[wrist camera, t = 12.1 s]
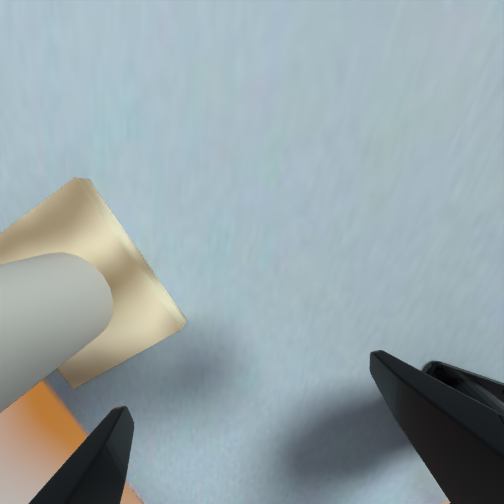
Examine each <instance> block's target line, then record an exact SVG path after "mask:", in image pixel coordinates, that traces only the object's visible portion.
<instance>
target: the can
mask: <svg viewBox="0 0 504 504" xmlns="http://www.w3.org/2000/svg"><path fill="white" fill-rule="evenodd" d="M112 314H113V298H112V294H111V290H110V287H109V285H108V283H107V282H106V280H105V278H104V276H103V275H102V274H101V273H100V272H99V271H98V270H97V269H96V268H95V267H94V266H93V265H92V264H91V263H90V262H88V261H86V260H85V259H83V258H81V257H79V256H77V255H73V254H69V253H64V252H57V253H47V254H43V255H39V256H35V257H31V258H26V259H22V260H18V261H14V262H10V263H5V264H1V265H0V413H1V412H2V411H3V410H4V409H6V408H7V407H8V406H10V405H11V404H12V403H13V402H15V401H16V400H17V399H18V398H20V397H21V396H22V395H23V394H25V393H26V392H27V391H28V390H30V389H31V388H33V387H34V386H35V385H36V384H38V383H39V382H40V381H41V380H43V379H44V378H45V377H47V376H48V375H49V374H50V373H52V372H53V371H54V370H55V369H57V368H58V367H59V366H61V365H62V364H63V363H64V362H66V361H67V360H68V359H69V358H71V357H72V356H73V355H75V354H76V353H77V352H78V351H80V350H81V349H82V348H83V347H85V346H86V345H87V344H89V343H90V342H91V341H92V340H94V339H95V338H96V337H98V336H99V335H100V334H101V333H102V332H103V331H104V330H105V329H106V328H107V326H108V324H109V322H110V320H111V318H112Z"/></svg>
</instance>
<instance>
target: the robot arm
mask: <svg viewBox="0 0 504 504" xmlns="http://www.w3.org/2000/svg"><path fill="white" fill-rule="evenodd" d="M440 367H441V368H440ZM438 368H440V369H438ZM370 373H371V375H372V377H373V379H374V381H375V383H376V384H377V386H378V388H379V390H380V392H381V394H382V396H383V398H384V399H385V401H386V403H387V405H388V407H389V409H390V410H391V412H392V414H393V416H394V417H395V419H396V421H397V422H398V424H399V425H400V427H401V428H402V430H403V431H404V433H405V434H406V436H407V437H408V439H409V440H410V442H411V443H412V445H413V447H414V448H415V450H416V451H417V453H418V454H419V456H420V457H421V459H422V460H423V462H424V463H425V465H426V466H427V468H428V469H429V471H430V472H431V474H432V475H433V477H434V478H435V480H436V481H437V483H438V484H439V486H440V487H441V489H442V490H443V492H444V493H445V495H446V496H447V498H448V499H449V501H450V502H451V503H450V504H504V383H501V382H498V381H495V380H492V379H489V378H487V377H484V376H481V375H478V374H475V373H472V372H469V371H466V370H463V369H460V368H457V367H455V366H452V365H449V364H446V363H443V362H439V361H437V362H434V363H433V364H432V366H431V367H430V369H429V371H428V373H427V374H426V373H424V372H422V371H420V370H418V369H416V368H414V367H413V366H411V365H409V364H407V363H405V362H403V361H401V360H400V359H398V358H396V357H394V356H392V355H390V354H388V353H387V352H385V351H382V350H378V351H373V352H371V353H370ZM133 432H134V421H133V419H132V417H131V414H130V412H129V410H128V408H127V407H126V406H121V407H117V408H114V409H112V410H111V411H110V413H109V414H108V415H107V416H106V417H105V418H104V419H103V420H102V422H101V423H100V424H99V425H98V426H97V427H96V428H95V429H94V431H93V432H92V433H91V434H90V435H89V436H88V437H87V438H86V440H85V441H84V442H83V443H82V444H81V445H80V446H79V447H78V449H77V450H76V451H75V452H74V453H73V454H72V455H71V457H70V458H69V459H68V460H67V461H66V462H65V463H64V464H63V465H62V467H61V468H60V469H59V470H58V471H57V472H56V473H55V474H54V476H53V477H52V478H51V479H50V480H49V481H48V482H47V483H46V485H45V486H44V487H43V488H42V489H41V490H40V491H39V492H38V494H37V495H36V496H35V497H34V498H33V499H32V500H31V501H30V503H29V504H120V501H121V497H122V493H123V489H124V485H125V480H126V475H127V469H128V463H129V457H130V450H131V444H132V438H133Z"/></svg>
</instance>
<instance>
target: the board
mask: <svg viewBox="0 0 504 504" xmlns="http://www.w3.org/2000/svg"><path fill="white" fill-rule="evenodd" d="M57 252H64V253H69V254H73V255H77V256H79V257H81V258H83V259H85V260H86V261H88V262H90V263H91V264H92V265H93V266H94V267H95V268H96V269H97V270H98V271H99V272H100V273H101V274H102V275H103V276H104V278H105V280H106V282H107V283H108V285H109V287H110V290H111V294H112V298H113V314H112V318H111V320H110V322H109V324H108V326H107V328H106V329H105V330H104V331H103V332H102V333H101V334H100V335H99V336H98V337H96V338H95V339H94V340H92V341H91V342H90V343H89V344H87V345H86V346H85V347H83V348H82V349H81V350H80V351H78V352H77V353H76V354H75V355H73V356H72V357H71V358H69V359H68V360H67V361H66V362H64V363H63V364H62V365H61V366H59V367H58V368H57V370H58V371H59V372H60V374H61V375H62V376H63V377H64V379H65V380H66V381H67V382H68V384H69V385H70V386H71V387H72V389H73V390H74V389H75V388H77V387H79V386H81V385H82V384H84V383H86V382H88V381H90V380H91V379H93V378H95V377H97V376H99V375H100V374H102V373H104V372H106V371H108V370H109V369H111V368H113V367H115V366H117V365H118V364H120V363H122V362H124V361H126V360H127V359H129V358H131V357H133V356H135V355H136V354H138V353H140V352H142V351H143V350H145V349H147V348H149V347H151V346H152V345H154V344H156V343H158V342H160V341H161V340H163V339H165V338H167V337H169V336H170V335H172V334H174V333H176V332H178V331H179V330H181V329H182V327H183V326H184V324H185V323H186V322H187V320H186V319H185V317H184V316H183V315H182V313H181V312H180V310H179V309H178V307H177V306H176V304H175V303H174V302H173V300H172V299H171V297H170V296H169V294H168V293H167V291H166V290H165V289H164V287H163V286H162V284H161V283H160V281H159V280H158V278H157V277H156V276H155V274H154V273H153V271H152V270H151V268H150V267H149V265H148V264H147V263H146V261H145V260H144V258H143V257H142V255H141V254H140V252H139V251H138V250H137V248H136V247H135V245H134V244H133V242H132V241H131V239H130V238H129V237H128V235H127V234H126V232H125V231H124V229H123V228H122V226H121V225H120V224H119V222H118V221H117V219H116V218H115V216H114V215H113V213H112V212H111V211H110V209H109V208H108V206H107V205H106V203H105V202H104V200H103V199H102V198H101V196H100V195H99V193H98V192H97V190H96V189H95V187H94V186H93V185H92V183H91V182H90V180H89V179H82V178H73V179H72V180H71V181H69V182H68V183H67V184H65V185H64V186H63V187H61V188H60V189H59V190H57V191H56V192H55V193H53V194H52V195H51V196H49V197H48V198H47V199H45V200H44V201H43V202H41V203H40V204H39V205H37V206H36V207H35V208H33V209H32V210H31V211H29V212H28V213H27V214H25V215H24V216H23V217H22V218H20V219H19V220H18V221H16V222H15V223H14V224H12V225H11V226H10V227H8V228H7V229H6V230H4V231H3V232H2V233H0V265H1V264H5V263H10V262H14V261H18V260H22V259H26V258H31V257H35V256H39V255H43V254H47V253H57Z"/></svg>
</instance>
